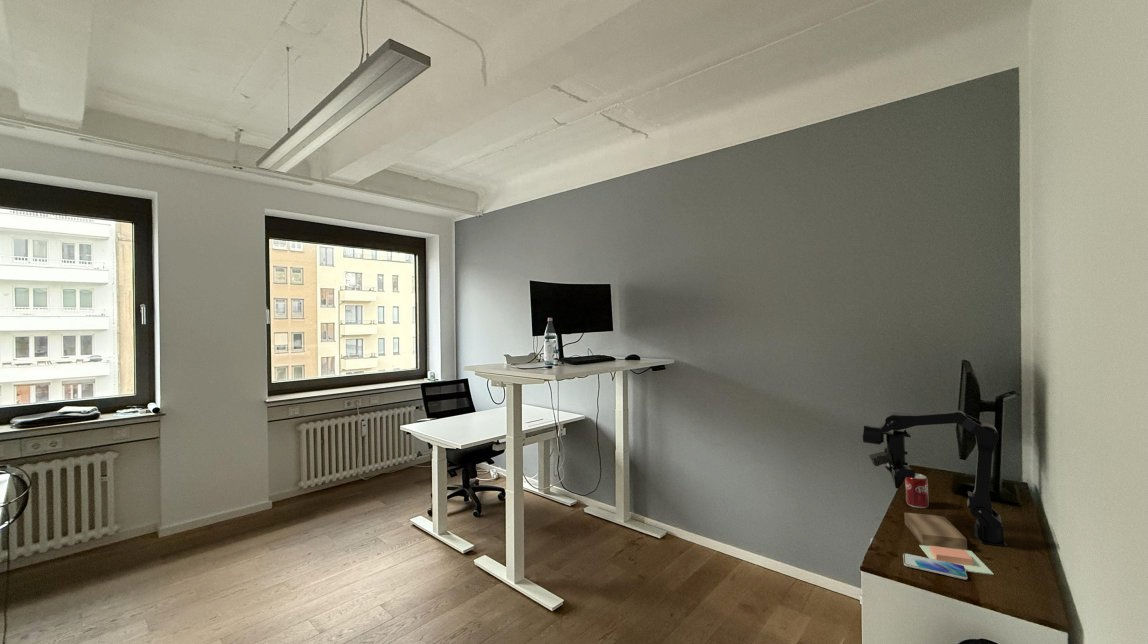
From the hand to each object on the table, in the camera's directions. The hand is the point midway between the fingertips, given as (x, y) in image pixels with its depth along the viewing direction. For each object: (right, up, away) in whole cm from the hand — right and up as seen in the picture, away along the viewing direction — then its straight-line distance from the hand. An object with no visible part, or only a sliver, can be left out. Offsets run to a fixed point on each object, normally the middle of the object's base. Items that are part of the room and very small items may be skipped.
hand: (897, 488), depth 167 cm
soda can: (+19, -12, +14) cm, 26 cm away
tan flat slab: (+4, -13, -12) cm, 18 cm away
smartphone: (-11, -13, -31) cm, 35 cm away
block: (-2, -10, -27) cm, 29 cm away
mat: (-1, -13, -27) cm, 29 cm away
